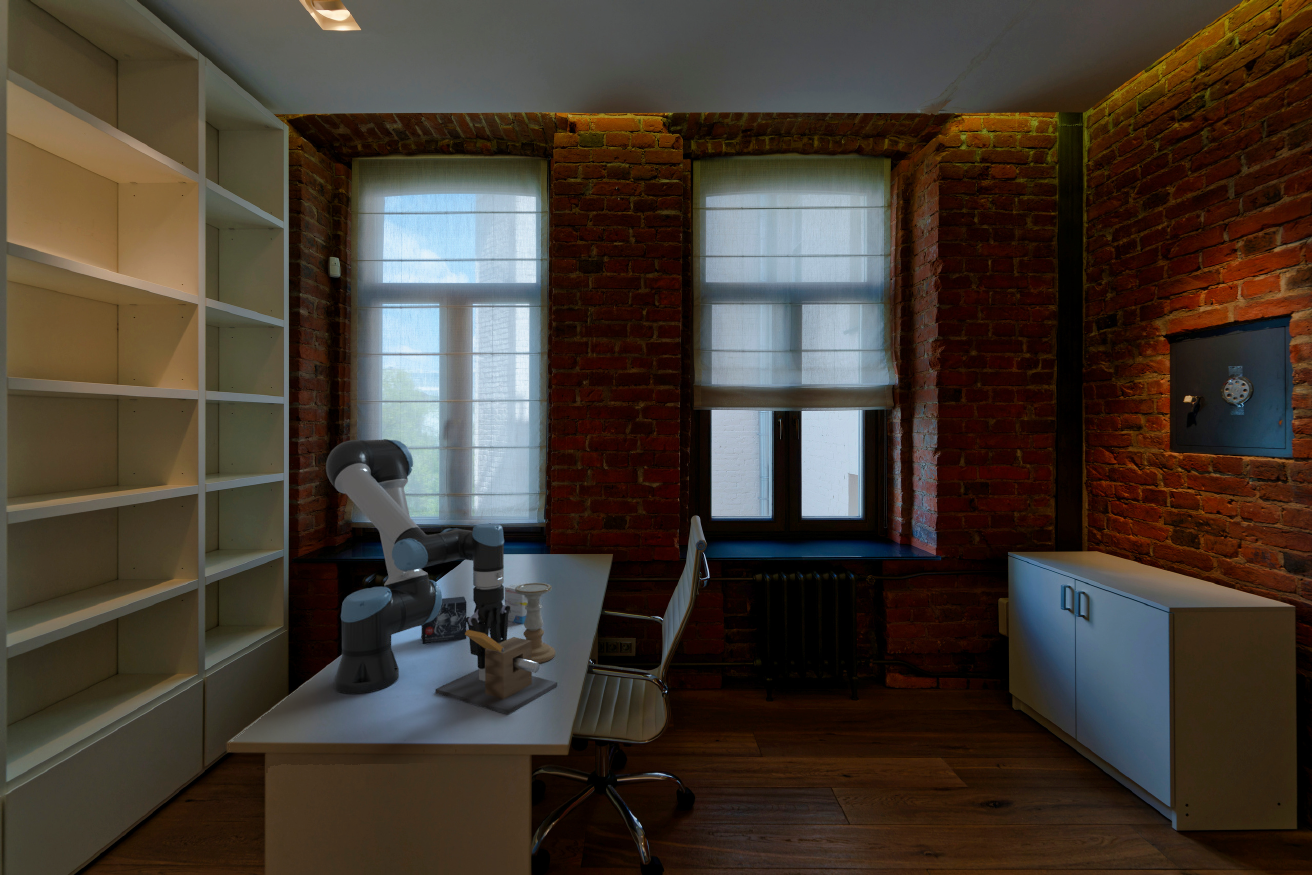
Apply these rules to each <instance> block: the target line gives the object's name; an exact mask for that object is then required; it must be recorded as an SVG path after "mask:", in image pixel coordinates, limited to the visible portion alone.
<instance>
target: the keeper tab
mask: <svg viewBox="0 0 1312 875" xmlns="http://www.w3.org/2000/svg"><path fill="white" fill-rule="evenodd" d="M465 635H466V637H468V639H469V638H471V639H472V640H473V641H475V642H476V643H478V644H479V645H481V646H482V647H483V648H486V649H490V650H495V651H499V652H504V648H503V647H502V646H501V645H500V644H498V643H497V642H496V641H494V640H493V639H492V638H491V637H490V636H489V635H488V636H487V635H486V634H485V633H481V632H476V631H472V630H469V629H466V633H465Z"/></svg>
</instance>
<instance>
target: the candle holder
mask: <svg viewBox="0 0 1312 875" xmlns="http://www.w3.org/2000/svg"><path fill="white" fill-rule="evenodd" d="M526 583H527V584H522V585H519V586H517V587H516V588H515V592H516V593H518V594H521V595H524V596H525V597H526V598H527V601H528V603H527V605H526V606H525V609H526V610H527V614H526V619H525V622H524V624H523V626H524V628H525V630H524V632H523V636H524V637H525V640H530V641H532V661H534V662H538V663H539V664H542V663H546V662H548V661H551V660H552V659H554V657H555V656H556V650H555V648H554V647H553V646H550V645H549V644H547V643H545V642H543V639H542V637H543V635H544V634H545V630H543V629H542V628H543V626H544V620H543V617H542V614H541V613H542V612H541V609H543V605H542V603H541V601H540V600H541V597H543V595H546V594H547V593H550V592H551V591H552V585H551V584H550V583H545V582H544V583H543V582H526Z"/></svg>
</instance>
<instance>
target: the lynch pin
mask: <svg viewBox="0 0 1312 875" xmlns="http://www.w3.org/2000/svg"><path fill="white" fill-rule="evenodd" d="M513 667H514V668H518V669H522V670H526V671H530V672H532V673H535V674H536V673H538V672H539V670H540V663H538V662H534V661H530V660H525V659H521V658H517V657H514V658H513Z"/></svg>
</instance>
